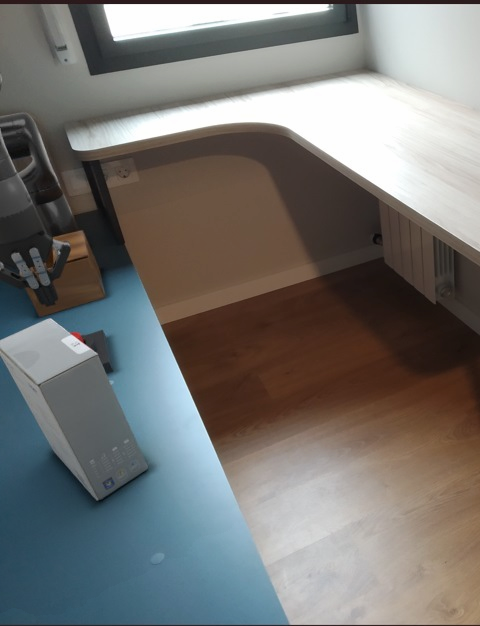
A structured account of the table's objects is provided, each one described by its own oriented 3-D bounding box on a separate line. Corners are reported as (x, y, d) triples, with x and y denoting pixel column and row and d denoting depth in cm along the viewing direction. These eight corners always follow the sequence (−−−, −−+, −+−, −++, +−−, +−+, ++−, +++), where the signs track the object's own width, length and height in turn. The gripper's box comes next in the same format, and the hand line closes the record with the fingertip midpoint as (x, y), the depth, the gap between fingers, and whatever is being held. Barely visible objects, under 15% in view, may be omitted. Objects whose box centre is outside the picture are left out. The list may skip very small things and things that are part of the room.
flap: (52, 238, 134) (51, 237, 133) (83, 231, 136) (82, 230, 136) (54, 264, 122) (53, 263, 122) (88, 256, 125) (87, 254, 125)
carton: (38, 287, 137) (20, 249, 132) (99, 270, 141) (84, 232, 136) (39, 317, 125) (19, 277, 120) (105, 297, 130) (89, 257, 125)
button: (59, 346, 109) (55, 337, 107) (84, 338, 110) (79, 329, 109) (60, 357, 105) (55, 348, 104) (85, 349, 107) (81, 340, 106)
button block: (49, 357, 112) (40, 340, 110) (106, 339, 116) (99, 321, 114) (51, 393, 103) (41, 374, 101) (113, 371, 107) (105, 353, 105)
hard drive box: (151, 468, 86) (99, 354, 76) (98, 504, 82) (35, 387, 71) (102, 423, 96) (49, 315, 85) (52, 452, 91) (-11, 342, 80)
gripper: (51, 188, 99) (91, 282, 108) (-43, 210, 94) (7, 307, 103) (52, 202, 93) (95, 300, 102) (-48, 227, 88) (6, 327, 97)
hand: (51, 303), depth 103 cm, fingers closed
